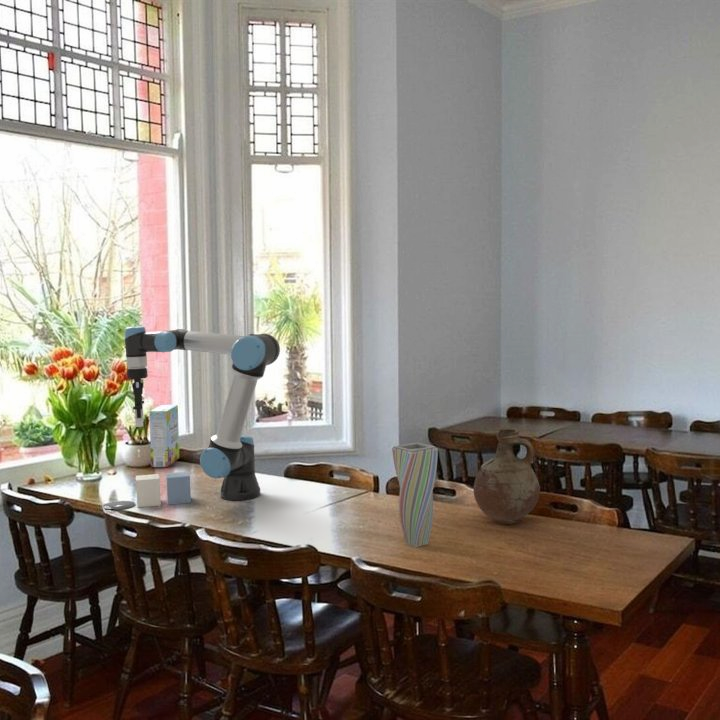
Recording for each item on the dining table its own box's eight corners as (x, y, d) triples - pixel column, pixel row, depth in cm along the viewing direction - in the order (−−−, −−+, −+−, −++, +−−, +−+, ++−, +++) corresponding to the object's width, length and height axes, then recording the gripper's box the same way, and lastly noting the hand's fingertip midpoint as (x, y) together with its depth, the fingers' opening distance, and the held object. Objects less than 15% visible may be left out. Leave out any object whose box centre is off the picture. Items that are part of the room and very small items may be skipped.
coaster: (141, 503, 320) (141, 502, 320) (120, 511, 310) (120, 509, 310) (118, 501, 325) (118, 499, 325) (97, 508, 315) (97, 507, 315)
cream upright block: (160, 499, 325) (158, 473, 324) (160, 505, 317) (159, 478, 316) (137, 501, 323) (135, 475, 322) (137, 507, 315) (135, 480, 314)
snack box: (169, 467, 383) (167, 410, 381) (150, 468, 383) (147, 411, 381) (181, 457, 405) (178, 403, 402) (162, 458, 405) (159, 404, 402)
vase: (414, 553, 252) (411, 452, 249) (385, 542, 263) (383, 446, 260) (448, 544, 260) (446, 446, 257) (419, 534, 271) (417, 440, 268)
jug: (475, 511, 296) (473, 425, 294) (539, 512, 292) (538, 424, 290) (472, 529, 275) (471, 436, 272) (541, 530, 271) (540, 436, 269)
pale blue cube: (189, 497, 328) (188, 471, 327) (191, 502, 320) (189, 476, 319) (167, 499, 326) (165, 473, 325) (167, 504, 318) (166, 478, 317)
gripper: (127, 365, 334) (130, 419, 336) (125, 371, 310) (128, 429, 311) (147, 364, 335) (149, 418, 337) (146, 370, 311) (149, 428, 313)
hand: (139, 423), depth 324 cm, fingers open, 13 cm apart
